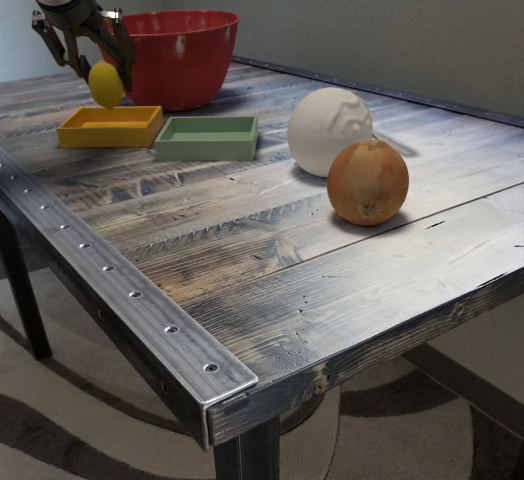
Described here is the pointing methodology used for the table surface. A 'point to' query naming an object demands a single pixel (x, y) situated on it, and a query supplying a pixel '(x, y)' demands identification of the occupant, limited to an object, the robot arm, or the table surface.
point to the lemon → (105, 85)
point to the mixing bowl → (178, 56)
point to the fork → (385, 140)
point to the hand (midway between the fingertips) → (112, 85)
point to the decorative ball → (327, 128)
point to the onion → (368, 182)
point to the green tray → (208, 138)
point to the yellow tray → (111, 127)
